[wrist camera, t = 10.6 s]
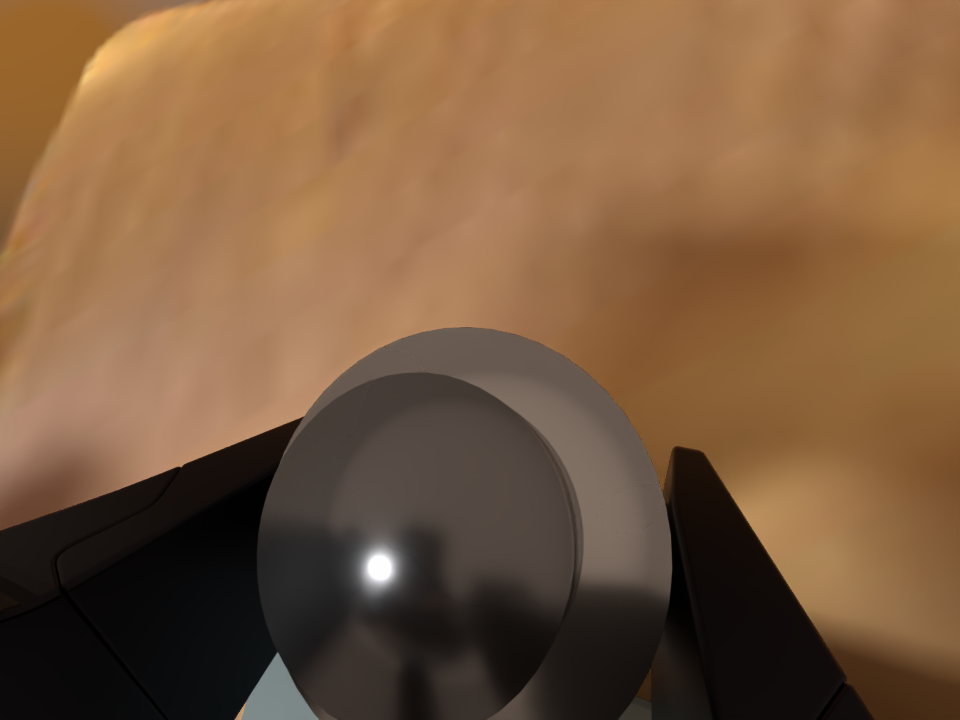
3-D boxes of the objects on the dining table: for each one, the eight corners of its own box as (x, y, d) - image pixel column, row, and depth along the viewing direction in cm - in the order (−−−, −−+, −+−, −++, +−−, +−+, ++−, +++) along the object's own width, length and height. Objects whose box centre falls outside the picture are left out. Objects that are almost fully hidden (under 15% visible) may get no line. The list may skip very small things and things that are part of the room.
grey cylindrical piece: (671, 572, 13) (804, 830, 3) (509, 611, 13) (201, 905, 4) (611, 409, 14) (567, 224, 4) (469, 454, 15) (181, 381, 5)
